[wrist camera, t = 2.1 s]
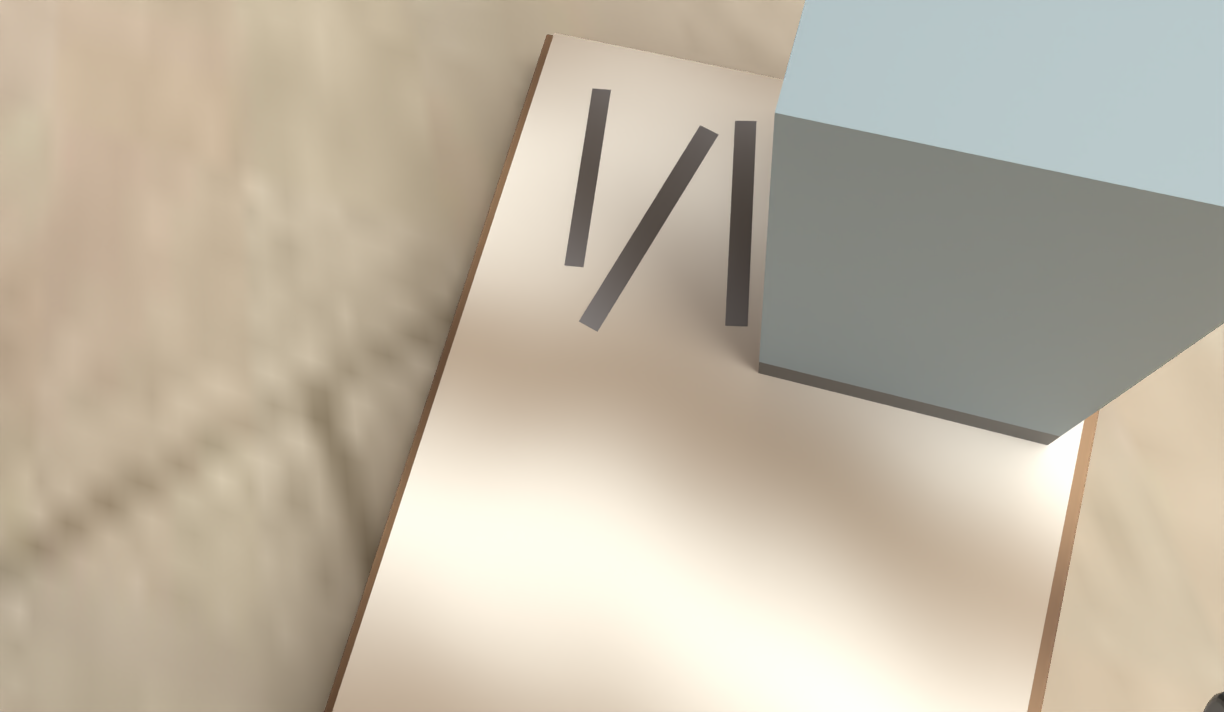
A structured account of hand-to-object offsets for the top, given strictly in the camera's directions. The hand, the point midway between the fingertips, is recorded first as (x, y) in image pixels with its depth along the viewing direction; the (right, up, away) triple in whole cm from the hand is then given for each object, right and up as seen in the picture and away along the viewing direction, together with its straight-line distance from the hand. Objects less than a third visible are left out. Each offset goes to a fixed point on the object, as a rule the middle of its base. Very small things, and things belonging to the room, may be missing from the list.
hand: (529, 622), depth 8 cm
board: (+3, -1, +14) cm, 14 cm away
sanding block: (+6, +3, +12) cm, 14 cm away
